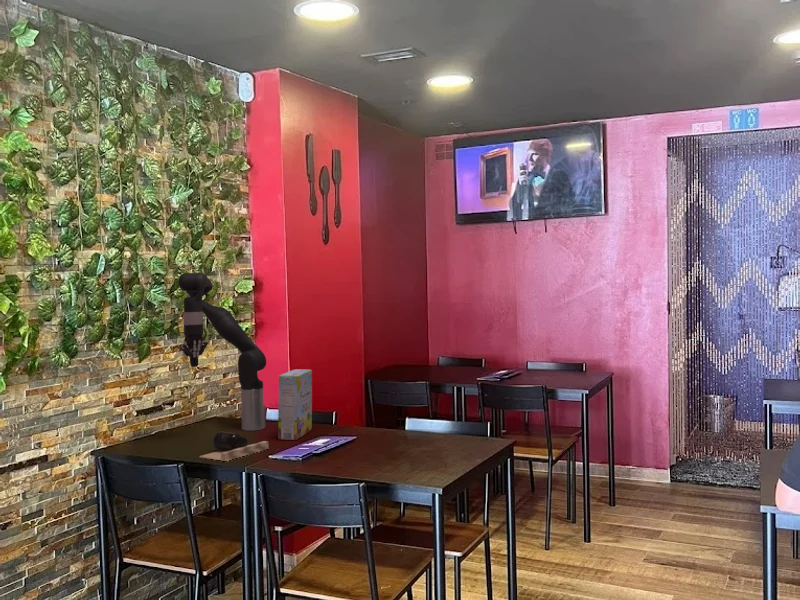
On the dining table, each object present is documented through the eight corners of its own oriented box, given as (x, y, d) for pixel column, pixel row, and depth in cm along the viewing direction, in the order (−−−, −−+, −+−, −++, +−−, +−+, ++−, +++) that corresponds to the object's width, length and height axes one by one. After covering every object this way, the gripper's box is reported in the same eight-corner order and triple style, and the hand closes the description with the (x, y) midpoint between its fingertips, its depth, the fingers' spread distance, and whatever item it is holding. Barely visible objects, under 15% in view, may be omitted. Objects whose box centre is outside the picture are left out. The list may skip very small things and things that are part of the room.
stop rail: (264, 448, 291) (264, 440, 290) (268, 449, 289) (268, 441, 289) (221, 461, 272) (221, 452, 272) (225, 462, 271) (225, 453, 271)
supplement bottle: (215, 453, 287) (239, 457, 280) (210, 437, 284) (234, 440, 278) (227, 443, 292) (251, 447, 286) (223, 427, 290) (247, 431, 284)
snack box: (298, 441, 303) (297, 375, 302) (277, 440, 305) (276, 375, 304) (313, 429, 325) (312, 368, 324) (293, 429, 326) (292, 368, 325)
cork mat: (243, 445, 297) (243, 444, 297) (264, 448, 291) (264, 447, 291) (199, 457, 278) (199, 456, 278) (221, 461, 272) (221, 460, 272)
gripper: (199, 321, 315) (200, 364, 316) (173, 324, 304) (174, 368, 305) (212, 322, 311) (213, 365, 312) (186, 324, 300) (188, 369, 301)
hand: (194, 366), depth 308 cm, fingers closed
